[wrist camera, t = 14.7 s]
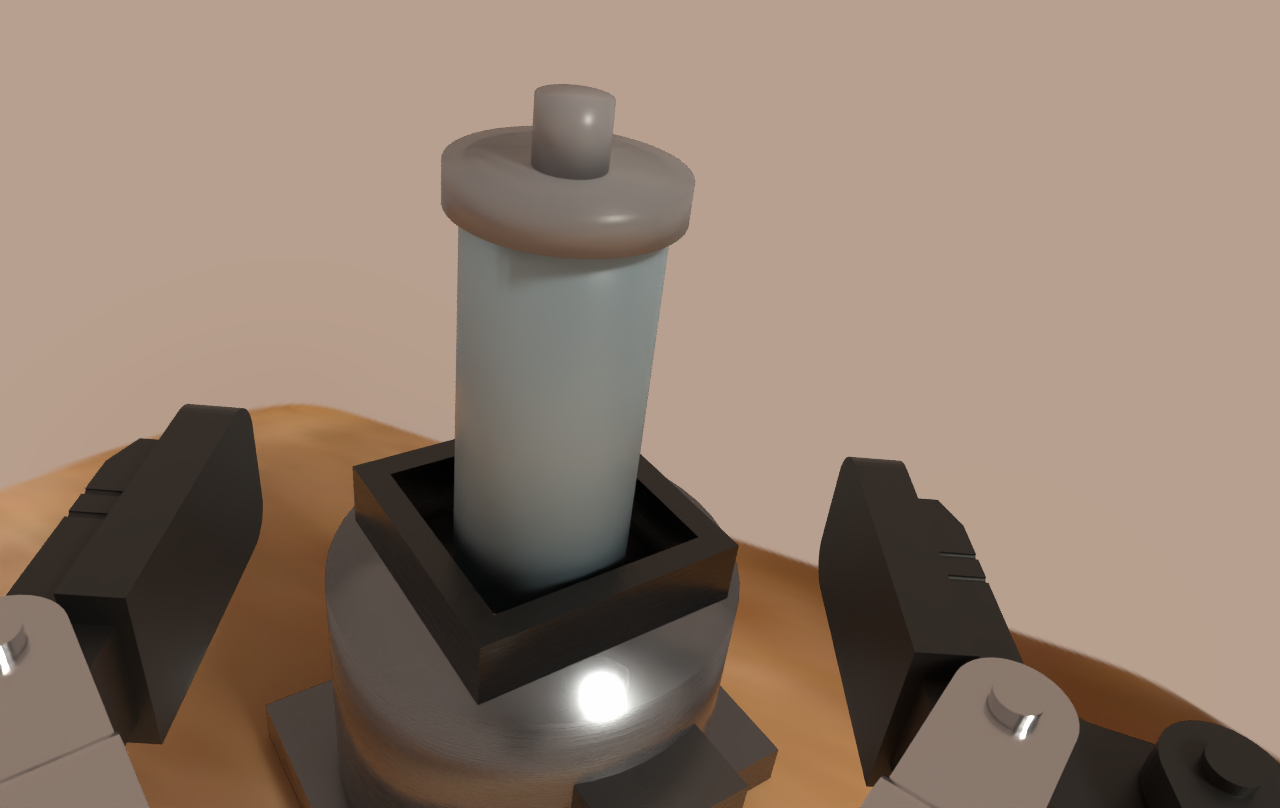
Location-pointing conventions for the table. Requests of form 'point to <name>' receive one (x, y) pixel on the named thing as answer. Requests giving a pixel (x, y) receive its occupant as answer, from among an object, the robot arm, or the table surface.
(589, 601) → the dark grey holder
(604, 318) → the grey lidded canister
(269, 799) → the table surface
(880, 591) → the robot arm
